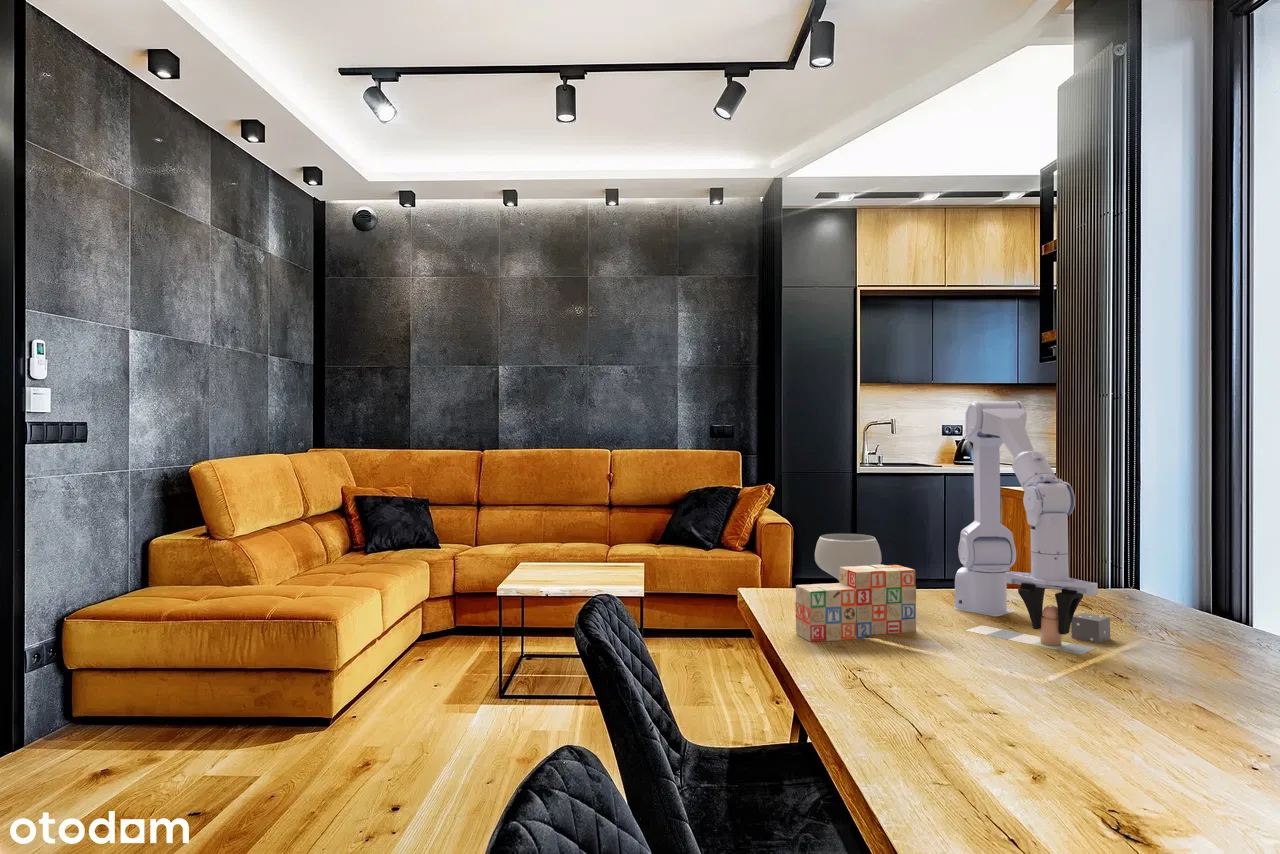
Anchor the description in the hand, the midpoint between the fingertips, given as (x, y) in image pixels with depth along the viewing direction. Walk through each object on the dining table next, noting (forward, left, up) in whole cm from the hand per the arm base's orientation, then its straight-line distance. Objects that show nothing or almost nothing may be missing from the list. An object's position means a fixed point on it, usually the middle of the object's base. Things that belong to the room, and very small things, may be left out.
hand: (1050, 630), depth 130 cm
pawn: (0, 0, -2) cm, 2 cm away
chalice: (-42, -1, -3) cm, 42 cm away
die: (+3, +9, -3) cm, 10 cm away
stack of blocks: (-26, -19, -3) cm, 33 cm away
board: (-4, 0, -3) cm, 5 cm away
